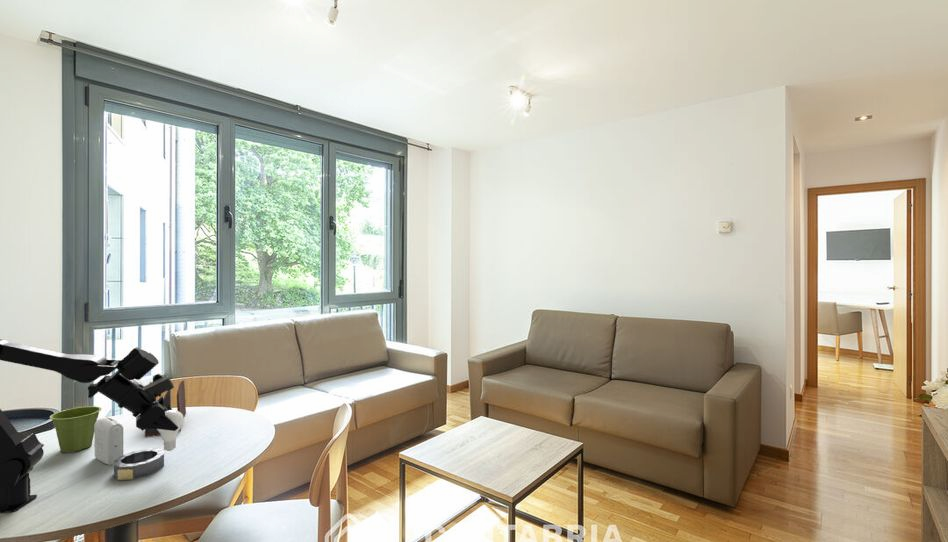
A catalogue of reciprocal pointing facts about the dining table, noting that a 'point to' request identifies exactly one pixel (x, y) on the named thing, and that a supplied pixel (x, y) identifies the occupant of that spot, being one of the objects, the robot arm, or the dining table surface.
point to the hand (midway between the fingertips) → (176, 425)
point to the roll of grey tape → (138, 464)
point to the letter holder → (167, 403)
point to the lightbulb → (170, 435)
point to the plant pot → (75, 427)
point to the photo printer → (108, 440)
